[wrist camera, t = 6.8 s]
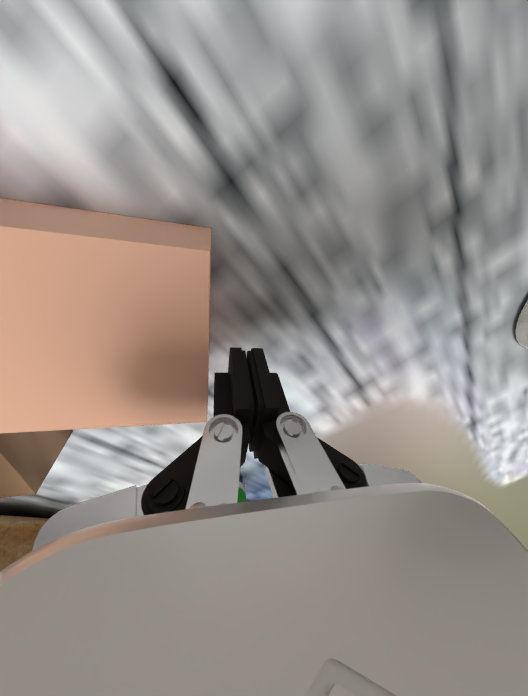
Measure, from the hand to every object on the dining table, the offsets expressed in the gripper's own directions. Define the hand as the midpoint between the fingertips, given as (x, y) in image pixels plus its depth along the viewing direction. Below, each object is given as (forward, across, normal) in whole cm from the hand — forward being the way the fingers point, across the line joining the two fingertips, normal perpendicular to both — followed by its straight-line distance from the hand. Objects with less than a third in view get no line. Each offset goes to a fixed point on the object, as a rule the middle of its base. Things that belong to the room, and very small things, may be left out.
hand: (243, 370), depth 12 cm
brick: (+4, +7, -2) cm, 8 cm away
